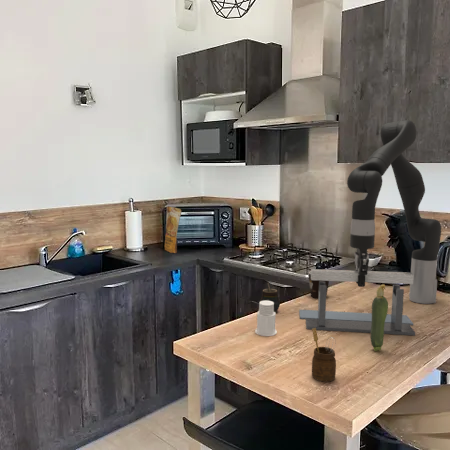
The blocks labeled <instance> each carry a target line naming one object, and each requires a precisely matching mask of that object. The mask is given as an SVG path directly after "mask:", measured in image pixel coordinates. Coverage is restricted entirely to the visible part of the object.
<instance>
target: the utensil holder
mask: <svg viewBox="0 0 450 450" xmlns="http://www.w3.org/2000/svg"><path fill="white" fill-rule="evenodd" d="M311 332H312V337H313V341H314V342H315V346H316V347H315V348H314V349H313V356H312V359H311V376H312V378H313V379H314V380H317V381H319V382H332V381H334V380H335V379H336V372H337V361H336V357H335V356H336V352H335V348H336V346H334V348H333V347H329V346H330V344H328V343H330V341H331V339H332V342H335V341H336V339H335V337H332V336H330V338H328V339H326V342H325V344H328V345H327V346H319V344H318V340H319V337H318V332H317V330H316V328H315V329H314V330H313V329H312V331H311ZM328 340H329V341H328ZM331 344H332V346H333V344H335V345H336V344H337V342H335V343H331Z"/></svg>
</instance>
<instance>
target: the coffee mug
mask: <svg viewBox="0 0 450 450" xmlns="http://www.w3.org/2000/svg"><path fill="white" fill-rule="evenodd" d="M308 281H309V283H308V284H309V291H310V292H309V293H310V298H311V299H315V300H318V299H319V281H321V282H325V286H327V288H326V298H327V296H328V290H329V282H330V281H322V280H311V270H310V271H309V272H308Z"/></svg>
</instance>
